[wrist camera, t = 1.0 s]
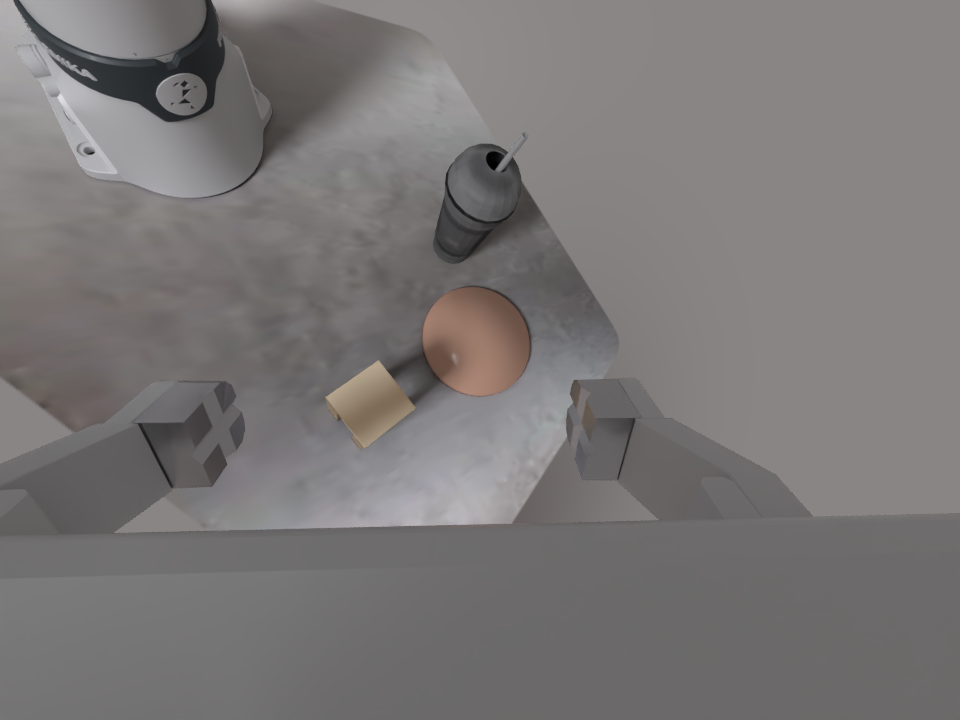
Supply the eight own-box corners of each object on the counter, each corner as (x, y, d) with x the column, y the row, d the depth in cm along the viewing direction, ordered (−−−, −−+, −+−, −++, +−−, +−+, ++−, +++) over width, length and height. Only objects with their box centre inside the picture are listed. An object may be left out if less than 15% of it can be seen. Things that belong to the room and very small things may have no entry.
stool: (328, 410, 41) (325, 397, 32) (370, 380, 43) (378, 360, 33) (359, 449, 41) (365, 447, 32) (399, 418, 43) (415, 408, 34)
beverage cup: (466, 213, 51) (539, 76, 32) (488, 266, 50) (575, 157, 32) (412, 225, 48) (458, 82, 30) (435, 280, 48) (496, 170, 29)
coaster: (398, 327, 45) (399, 325, 44) (483, 269, 50) (484, 267, 49) (470, 419, 45) (471, 419, 45) (547, 353, 50) (549, 352, 50)
